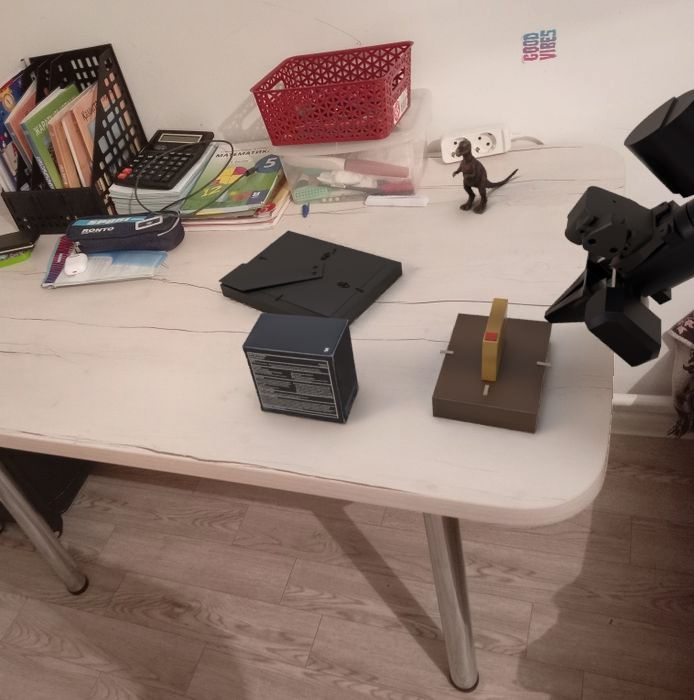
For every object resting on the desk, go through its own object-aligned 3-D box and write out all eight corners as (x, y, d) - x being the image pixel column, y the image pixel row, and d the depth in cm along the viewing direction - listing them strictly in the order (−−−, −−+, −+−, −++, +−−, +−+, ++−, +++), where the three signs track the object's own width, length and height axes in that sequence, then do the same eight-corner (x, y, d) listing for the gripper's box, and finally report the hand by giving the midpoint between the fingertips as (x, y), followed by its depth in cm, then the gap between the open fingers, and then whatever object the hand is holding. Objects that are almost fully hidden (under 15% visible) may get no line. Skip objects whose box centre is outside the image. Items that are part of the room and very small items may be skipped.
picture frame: (223, 295, 93) (333, 340, 80) (218, 280, 91) (330, 324, 78) (290, 241, 100) (402, 274, 86) (287, 226, 98) (401, 257, 84)
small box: (361, 384, 73) (351, 316, 66) (346, 425, 69) (333, 357, 62) (278, 373, 78) (261, 309, 71) (259, 411, 74) (239, 347, 67)
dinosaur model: (449, 143, 86) (508, 104, 92) (443, 217, 94) (498, 177, 100) (475, 149, 83) (534, 108, 90) (467, 225, 91) (522, 183, 97)
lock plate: (453, 331, 76) (452, 311, 74) (555, 342, 70) (558, 321, 68) (426, 415, 67) (425, 395, 65) (541, 435, 62) (544, 414, 60)
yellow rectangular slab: (492, 336, 69) (494, 295, 66) (505, 337, 69) (508, 297, 65) (481, 379, 65) (482, 339, 61) (495, 381, 64) (497, 341, 61)
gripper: (642, 115, 55) (503, 218, 68) (638, 230, 44) (471, 329, 56) (728, 194, 57) (576, 281, 69) (745, 326, 45) (560, 402, 58)
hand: (547, 318), depth 63 cm, fingers closed
